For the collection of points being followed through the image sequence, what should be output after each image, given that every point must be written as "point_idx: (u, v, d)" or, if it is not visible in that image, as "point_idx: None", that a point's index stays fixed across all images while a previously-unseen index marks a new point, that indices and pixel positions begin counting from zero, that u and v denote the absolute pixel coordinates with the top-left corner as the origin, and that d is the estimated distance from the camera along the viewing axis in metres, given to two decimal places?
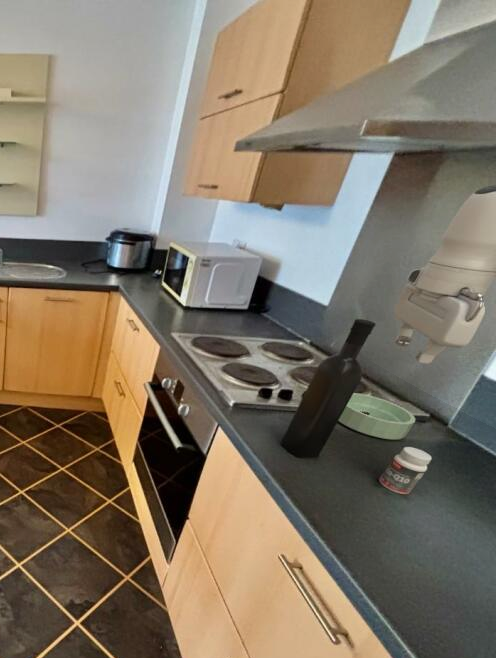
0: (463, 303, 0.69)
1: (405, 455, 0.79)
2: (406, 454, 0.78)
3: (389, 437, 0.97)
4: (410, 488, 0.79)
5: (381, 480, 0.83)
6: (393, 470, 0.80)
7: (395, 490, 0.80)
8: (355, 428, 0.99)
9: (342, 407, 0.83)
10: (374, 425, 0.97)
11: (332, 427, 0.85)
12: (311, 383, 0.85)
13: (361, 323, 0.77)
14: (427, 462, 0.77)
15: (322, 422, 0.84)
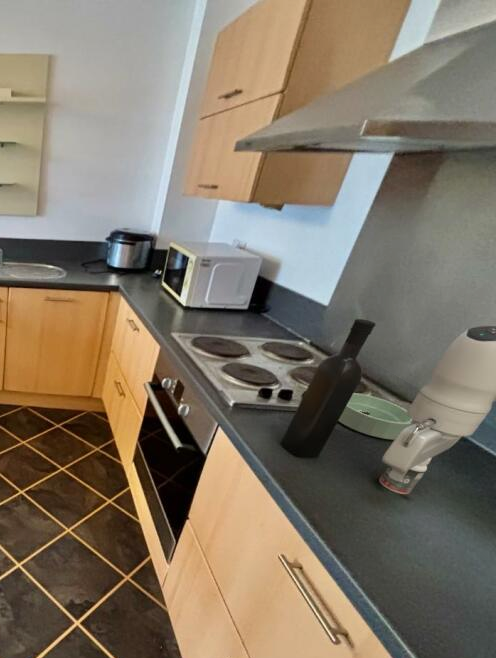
0: (408, 429, 0.73)
1: None
2: None
3: (389, 437, 0.97)
4: (410, 488, 0.79)
5: (381, 480, 0.83)
6: None
7: (395, 490, 0.80)
8: (355, 428, 0.99)
9: (342, 407, 0.83)
10: (374, 425, 0.97)
11: (332, 427, 0.85)
12: (311, 383, 0.85)
13: (361, 323, 0.77)
14: (427, 462, 0.77)
15: (322, 422, 0.84)
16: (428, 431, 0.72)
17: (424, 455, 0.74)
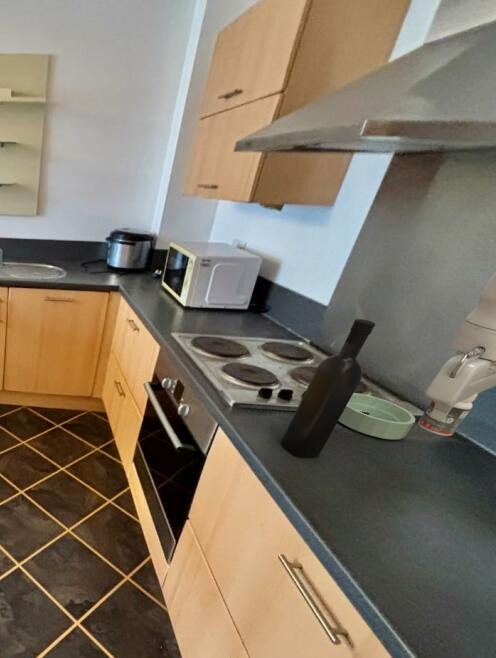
0: (455, 358, 0.66)
1: None
2: None
3: (389, 437, 0.97)
4: (453, 429, 0.73)
5: (420, 423, 0.76)
6: None
7: (437, 432, 0.74)
8: (355, 428, 0.99)
9: (342, 407, 0.83)
10: (374, 425, 0.97)
11: (332, 427, 0.85)
12: (311, 383, 0.85)
13: (361, 323, 0.77)
14: (473, 398, 0.71)
15: (322, 422, 0.84)
16: (477, 360, 0.66)
17: (472, 388, 0.68)
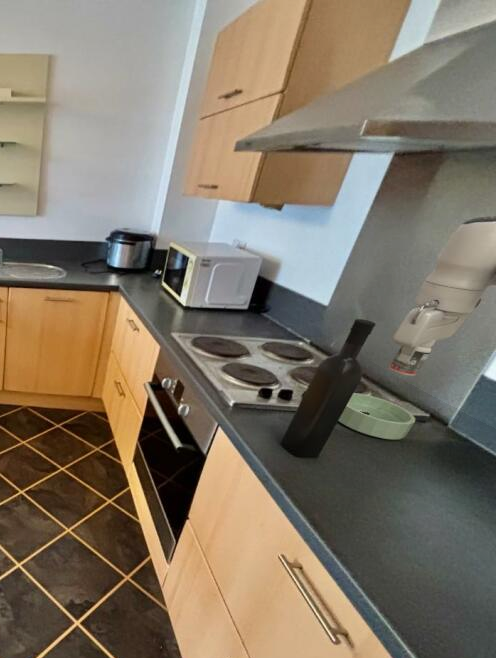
0: (416, 309, 0.84)
1: None
2: None
3: (389, 437, 0.97)
4: (416, 369, 0.91)
5: (391, 366, 0.94)
6: None
7: (403, 372, 0.92)
8: (355, 428, 0.99)
9: (342, 407, 0.83)
10: (374, 425, 0.97)
11: (332, 427, 0.85)
12: (311, 383, 0.85)
13: (361, 323, 0.77)
14: (431, 343, 0.89)
15: (322, 422, 0.84)
16: (432, 310, 0.84)
17: (429, 334, 0.86)
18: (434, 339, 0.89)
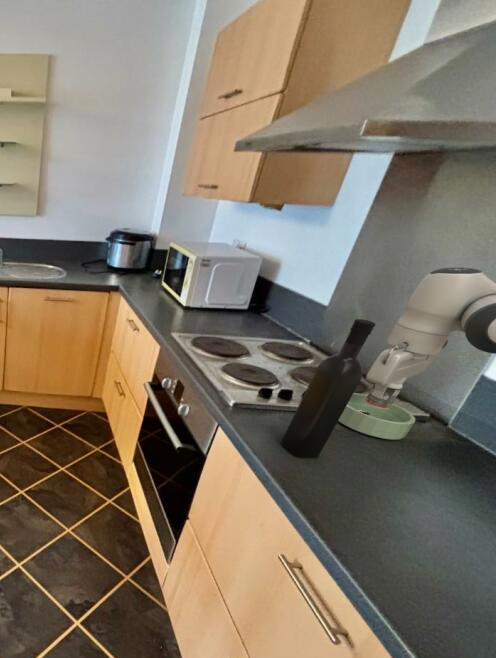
0: (386, 350, 0.91)
1: None
2: None
3: (389, 437, 0.97)
4: (389, 404, 0.98)
5: (366, 400, 1.01)
6: None
7: (377, 406, 0.99)
8: (355, 428, 0.99)
9: (342, 407, 0.83)
10: (374, 425, 0.97)
11: (332, 427, 0.85)
12: (311, 383, 0.85)
13: (361, 323, 0.77)
14: (402, 380, 0.95)
15: (322, 422, 0.84)
16: (402, 352, 0.91)
17: (399, 373, 0.93)
18: (405, 377, 0.95)
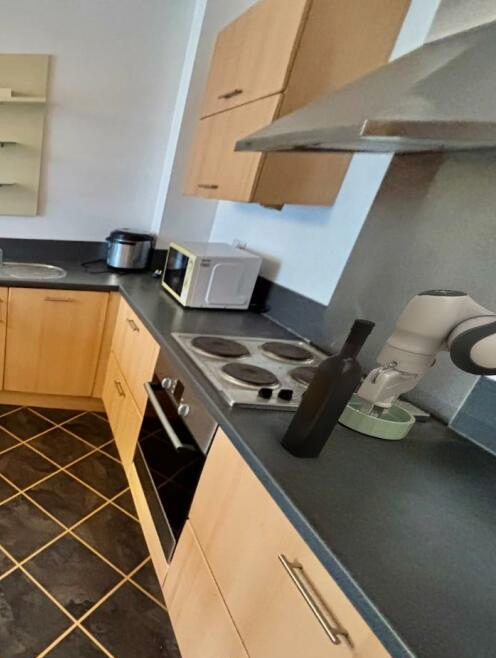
0: (376, 370, 0.93)
1: None
2: None
3: (389, 437, 0.97)
4: None
5: None
6: None
7: None
8: (355, 428, 0.99)
9: (342, 407, 0.83)
10: (374, 425, 0.97)
11: (332, 427, 0.85)
12: (311, 383, 0.85)
13: (361, 323, 0.77)
14: (391, 399, 0.98)
15: (322, 422, 0.84)
16: (391, 371, 0.93)
17: (389, 391, 0.95)
18: (394, 394, 0.98)
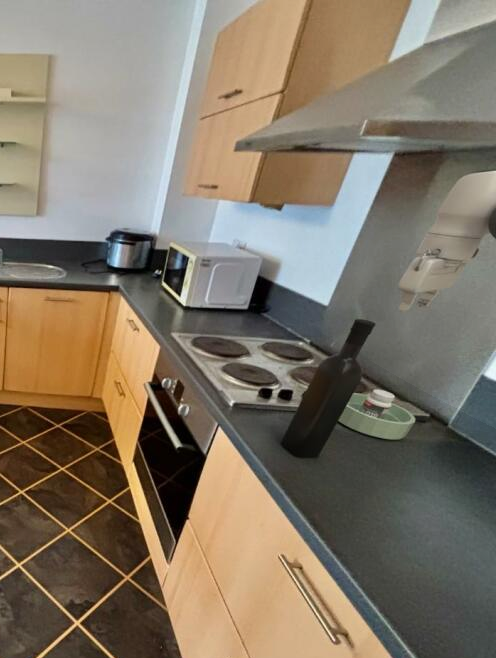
0: (419, 257, 0.91)
1: (374, 395, 1.00)
2: (375, 394, 0.99)
3: (389, 437, 0.97)
4: None
5: None
6: (365, 408, 1.01)
7: None
8: (355, 428, 0.99)
9: (342, 407, 0.83)
10: (374, 425, 0.97)
11: (332, 427, 0.85)
12: (311, 383, 0.85)
13: (361, 323, 0.77)
14: (391, 399, 0.98)
15: (322, 422, 0.84)
16: (434, 258, 0.91)
17: (431, 281, 0.93)
18: (435, 287, 0.95)
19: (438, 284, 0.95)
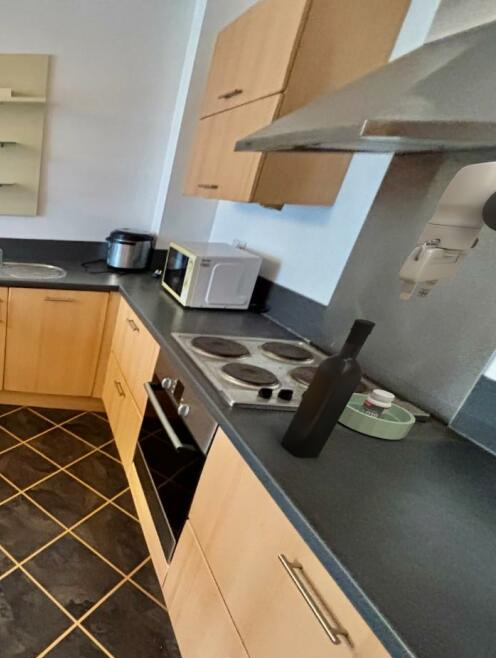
0: (419, 247, 0.93)
1: (374, 395, 1.00)
2: (375, 394, 0.99)
3: (389, 437, 0.97)
4: None
5: None
6: (365, 408, 1.01)
7: None
8: (355, 428, 0.99)
9: (342, 407, 0.83)
10: (374, 425, 0.97)
11: (332, 427, 0.85)
12: (311, 383, 0.85)
13: (361, 323, 0.77)
14: (391, 399, 0.98)
15: (322, 422, 0.84)
16: (434, 248, 0.93)
17: (431, 270, 0.95)
18: (435, 277, 0.98)
19: (438, 274, 0.97)
